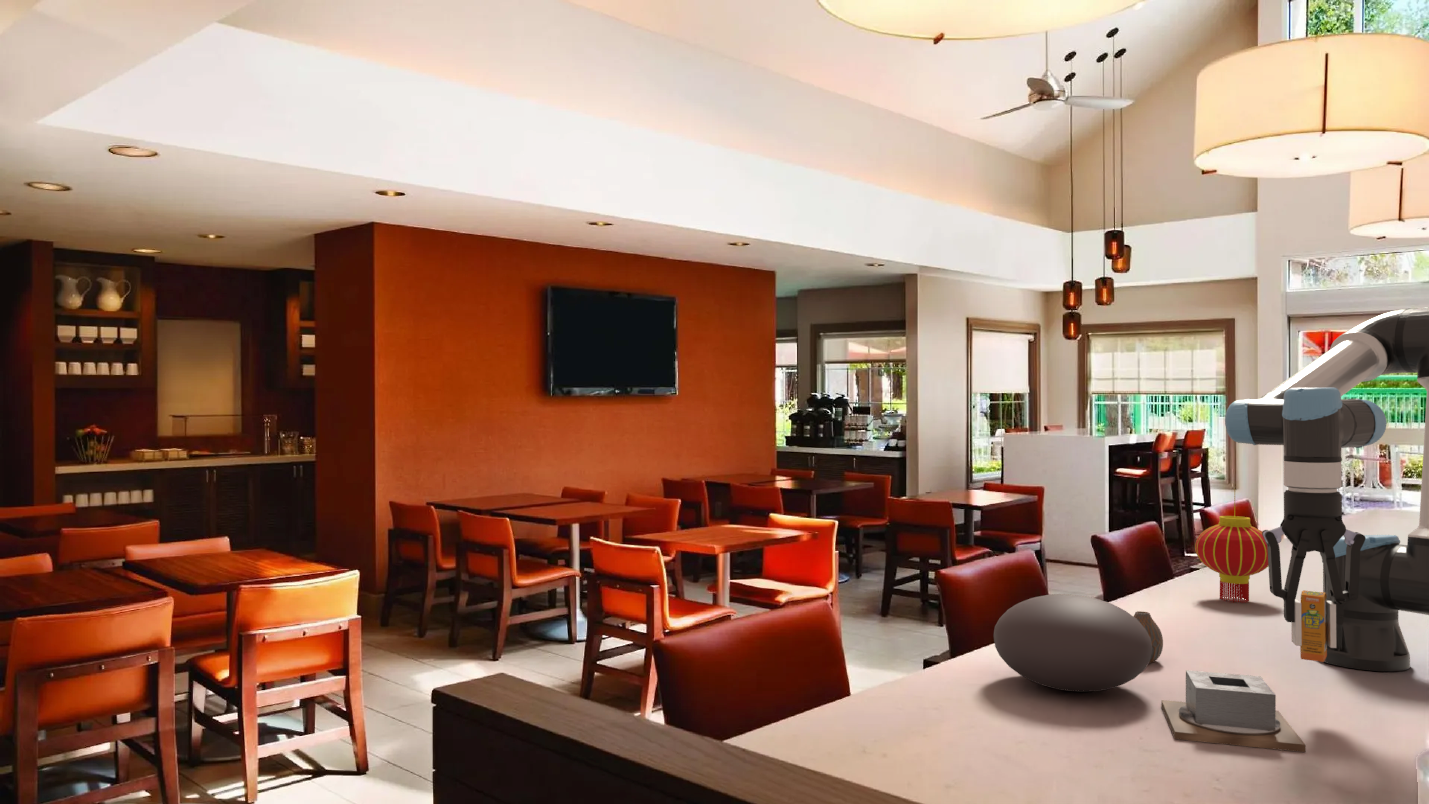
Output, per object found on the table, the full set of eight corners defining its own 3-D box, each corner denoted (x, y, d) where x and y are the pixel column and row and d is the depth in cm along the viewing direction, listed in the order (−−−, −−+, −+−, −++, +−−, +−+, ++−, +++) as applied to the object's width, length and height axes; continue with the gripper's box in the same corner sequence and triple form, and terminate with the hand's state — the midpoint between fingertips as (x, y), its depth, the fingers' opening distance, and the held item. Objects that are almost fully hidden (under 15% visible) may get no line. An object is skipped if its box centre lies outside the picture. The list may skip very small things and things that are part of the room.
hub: (1269, 712, 148) (1269, 674, 148) (1290, 740, 136) (1290, 698, 136) (1173, 703, 152) (1173, 666, 152) (1185, 729, 140) (1185, 689, 140)
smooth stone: (1145, 675, 172) (1146, 588, 173) (1159, 716, 149) (1159, 616, 149) (997, 661, 180) (998, 579, 181) (987, 699, 157) (988, 604, 157)
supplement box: (1299, 659, 150) (1298, 593, 150) (1302, 654, 153) (1301, 589, 153) (1325, 663, 148) (1324, 595, 148) (1327, 658, 151) (1327, 591, 151)
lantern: (1184, 592, 251) (1185, 473, 252) (1258, 595, 249) (1259, 474, 249) (1208, 605, 234) (1209, 478, 235) (1287, 608, 232) (1288, 479, 232)
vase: (1167, 666, 178) (1167, 617, 178) (1126, 664, 180) (1126, 615, 180) (1158, 657, 185) (1158, 609, 185) (1118, 654, 187) (1118, 607, 187)
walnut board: (1278, 717, 149) (1278, 710, 149) (1305, 752, 134) (1305, 744, 134) (1161, 706, 154) (1161, 700, 154) (1174, 739, 139) (1174, 731, 139)
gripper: (1369, 488, 151) (1370, 642, 152) (1244, 486, 157) (1246, 635, 157) (1385, 493, 144) (1386, 654, 145) (1254, 491, 150) (1256, 647, 150)
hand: (1313, 644), depth 151 cm, fingers closed on supplement box, 4 cm apart
